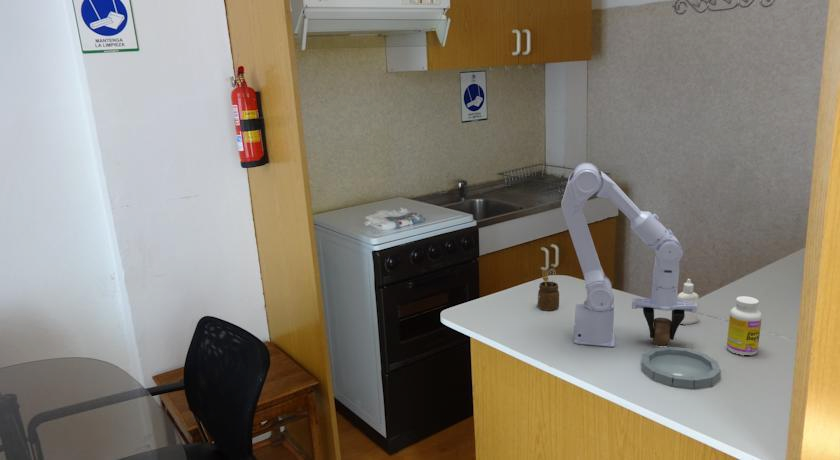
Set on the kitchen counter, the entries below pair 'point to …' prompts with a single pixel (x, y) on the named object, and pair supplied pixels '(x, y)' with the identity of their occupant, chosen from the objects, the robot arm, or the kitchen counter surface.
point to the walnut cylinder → (661, 331)
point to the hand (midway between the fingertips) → (661, 337)
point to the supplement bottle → (744, 326)
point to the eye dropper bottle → (689, 297)
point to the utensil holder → (548, 294)
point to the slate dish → (680, 367)
